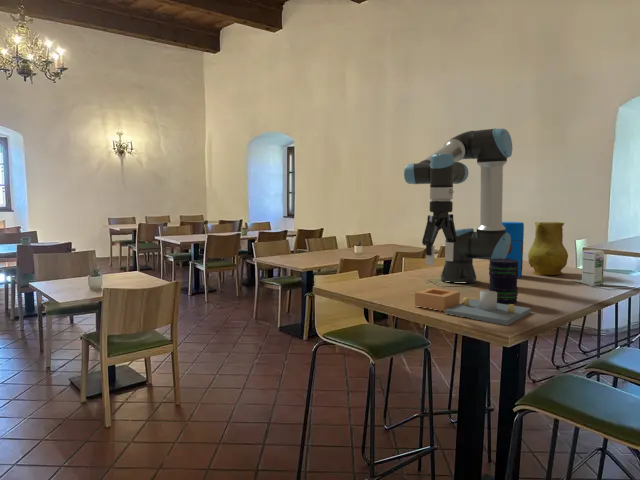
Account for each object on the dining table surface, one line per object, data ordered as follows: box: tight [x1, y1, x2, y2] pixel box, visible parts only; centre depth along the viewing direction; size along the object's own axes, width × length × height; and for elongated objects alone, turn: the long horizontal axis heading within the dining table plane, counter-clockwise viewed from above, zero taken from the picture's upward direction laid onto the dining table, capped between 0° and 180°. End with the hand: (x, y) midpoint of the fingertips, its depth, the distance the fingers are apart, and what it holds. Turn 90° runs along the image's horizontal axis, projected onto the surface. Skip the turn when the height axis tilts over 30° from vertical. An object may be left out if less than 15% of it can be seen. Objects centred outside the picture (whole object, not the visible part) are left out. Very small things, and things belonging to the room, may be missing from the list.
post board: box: [444, 290, 532, 326], centre depth 153 cm, size 20×20×7 cm
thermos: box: [502, 221, 525, 279], centre depth 221 cm, size 11×11×25 cm
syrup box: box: [581, 249, 605, 286], centre depth 201 cm, size 6×6×14 cm
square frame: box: [414, 287, 461, 311], centre depth 163 cm, size 11×11×5 cm
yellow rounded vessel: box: [527, 221, 569, 276], centre depth 226 cm, size 17×19×25 cm
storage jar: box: [487, 258, 519, 305], centre depth 169 cm, size 10×10×15 cm
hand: (439, 263), depth 162 cm, fingers open, 13 cm apart
